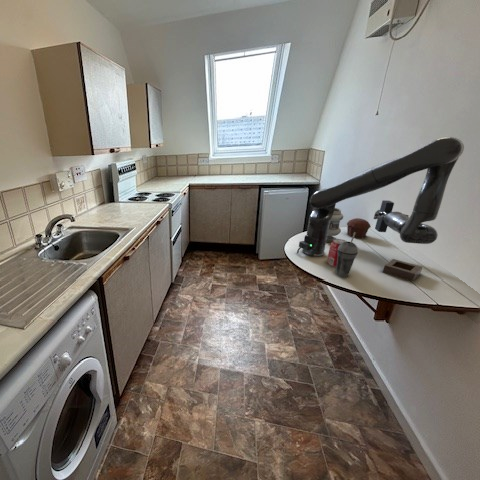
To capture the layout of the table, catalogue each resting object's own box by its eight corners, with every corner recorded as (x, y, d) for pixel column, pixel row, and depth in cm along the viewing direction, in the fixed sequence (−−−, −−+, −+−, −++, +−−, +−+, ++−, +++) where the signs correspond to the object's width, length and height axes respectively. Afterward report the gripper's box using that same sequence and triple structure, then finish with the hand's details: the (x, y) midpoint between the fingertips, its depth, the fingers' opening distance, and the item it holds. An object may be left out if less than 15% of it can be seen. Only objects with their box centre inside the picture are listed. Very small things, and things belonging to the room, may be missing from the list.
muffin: (339, 233, 162) (343, 217, 158) (353, 230, 165) (357, 215, 161) (358, 240, 152) (362, 223, 148) (372, 237, 155) (377, 220, 151)
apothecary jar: (310, 236, 160) (315, 207, 154) (329, 234, 161) (335, 205, 154) (323, 243, 149) (329, 212, 142) (343, 242, 150) (350, 211, 143)
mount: (412, 281, 110) (415, 274, 108) (382, 272, 118) (384, 265, 116) (420, 273, 115) (422, 266, 114) (390, 265, 123) (393, 258, 122)
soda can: (345, 264, 126) (351, 240, 121) (341, 269, 121) (347, 245, 117) (328, 260, 131) (333, 237, 126) (324, 265, 126) (329, 241, 122)
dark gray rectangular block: (378, 231, 133) (386, 202, 128) (374, 228, 138) (382, 200, 132) (385, 232, 132) (394, 202, 127) (381, 229, 137) (389, 200, 131)
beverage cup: (328, 270, 121) (337, 229, 113) (345, 270, 120) (356, 229, 113) (337, 278, 114) (347, 235, 107) (355, 279, 113) (366, 235, 106)
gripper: (420, 214, 115) (401, 205, 131) (381, 213, 120) (367, 204, 135) (415, 231, 118) (397, 219, 133) (377, 228, 123) (364, 218, 138)
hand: (382, 211), depth 134 cm, fingers closed on dark gray rectangular block, 3 cm apart
